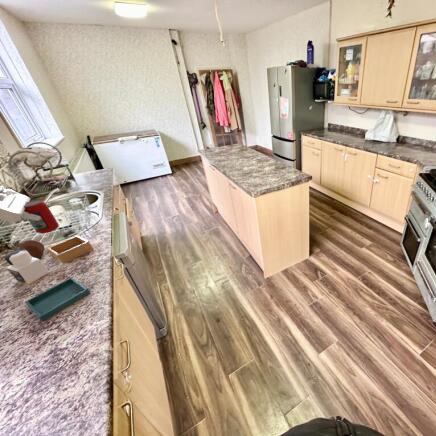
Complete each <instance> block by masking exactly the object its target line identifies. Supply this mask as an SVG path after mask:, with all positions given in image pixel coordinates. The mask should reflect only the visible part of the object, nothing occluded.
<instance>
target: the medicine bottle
mask: <svg viewBox="0 0 436 436" xmlns="http://www.w3.org/2000/svg"><path fill="white" fill-rule="evenodd" d="M4 260H5V261H6V263H7V264H8V265H9V266H6V270H7V271H8V272H9V273H10V274H11V275H12V277H13V278H14V280H15V281H16V282H19V283H22V284H25V285H31V284H32V283H34V282H36V281H37V280H40V279H41V278H43V277H45V276H46V275H48V274H49V273H50V271H49V269H47V267H46V265H45V264H44V263H43V261H41V259H40V258H39V259H37V258H33V257H32V256H31V255H30V253H29V252H28V251H27V250H19V249H17V250H14V251H12V252H10V253H8V254H6V255H5V257H4Z"/></svg>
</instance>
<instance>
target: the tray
mask: <svg viewBox="0 0 436 436" xmlns="http://www.w3.org/2000/svg"><path fill="white" fill-rule="evenodd" d="M90 294H91V291H90V290H89V288H87V287H86V286H84V285H83V284H82V283H81V282H79V281H77V279H75V278H73V277H72V276H71V277H69V278H67V279H65V280H63V281H61V282H60V283H57V284H55V285H53V286H52V287H50V288H48V289H46V290H44V291H43V292H41V293H38V294H36V295H35V296H33V297H31V298H29V299H27V300H26V301H24V304H25V305H26V306H27V307H28V308H29V309H30V310H31V311H32V312H33V314H34V315H35V316H36V317H37V318H39V320H40V321H41V322H42V323H44V322H46V320H49V319H50V318H52V317H54V316H55V315H57V314H58V313H60V312H62V311H63V310H65V309H66V308H69V307H70V306H72V305H74V304H76V303H77V302H78V301H80V300H82V299H83V298H85V297H87V296H88V295H90Z"/></svg>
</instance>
